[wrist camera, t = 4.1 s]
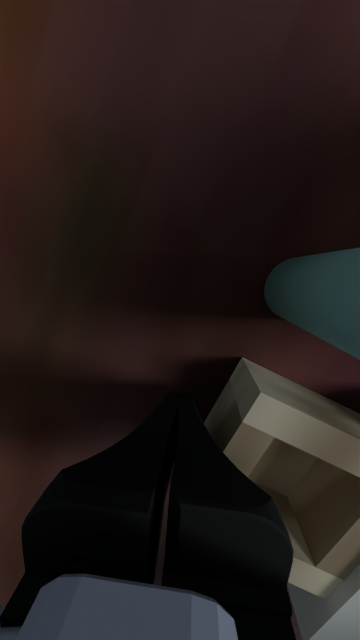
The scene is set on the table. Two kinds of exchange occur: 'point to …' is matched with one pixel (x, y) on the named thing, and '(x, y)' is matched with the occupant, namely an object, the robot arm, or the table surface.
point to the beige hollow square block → (297, 467)
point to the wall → (329, 611)
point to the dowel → (320, 296)
